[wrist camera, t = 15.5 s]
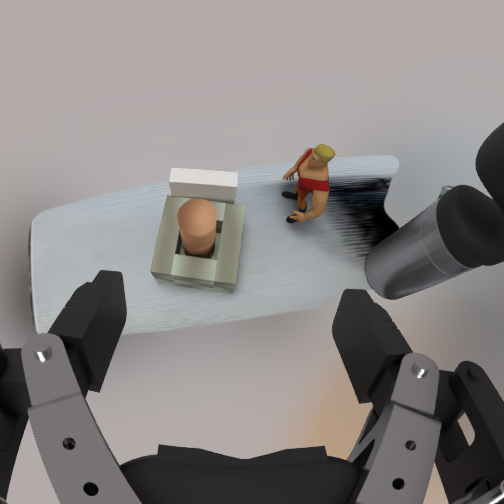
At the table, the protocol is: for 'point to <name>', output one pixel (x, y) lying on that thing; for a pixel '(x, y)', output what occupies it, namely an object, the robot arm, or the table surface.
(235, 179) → the backstop wall
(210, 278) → the socket block
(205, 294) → the table surface
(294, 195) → the action figure
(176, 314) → the table surface
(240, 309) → the table surface
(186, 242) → the dowel
